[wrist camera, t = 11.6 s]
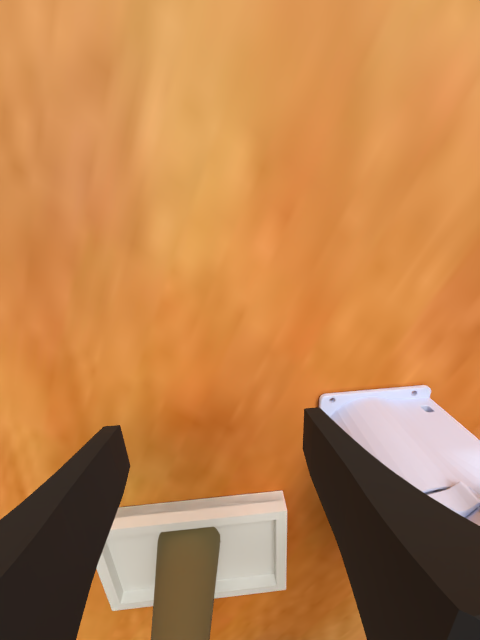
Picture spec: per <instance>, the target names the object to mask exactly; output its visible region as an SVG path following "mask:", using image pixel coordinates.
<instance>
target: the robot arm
mask: <svg viewBox="0 0 480 640" xmlns="http://www.w3.org/2000/svg"><path fill="white" fill-rule="evenodd" d="M413 391H414V392H413ZM412 392H413V393H412ZM430 394H431V389H430V388H429V387H428V386H426V385H419V386H407V387H396V388H384V389H373V390H361V391H350V392H338V393H326V394H323V395H321V396H320V398H319V408H308V409H304V432H303V451H304V455H305V459H306V462H307V466H308V469H309V473H310V476H311V478H312V481H313V483H314V486H315V488H316V491H317V493H318V496H319V498H320V501H321V503H322V506H323V508H324V511H325V513H326V516H327V518H328V521H329V523H330V526H331V528H332V531H333V533H334V536H335V538H336V541H337V544H338V546H339V549H340V552H341V555H342V558H343V561H344V564H345V568H346V571H347V574H348V577H349V580H350V584H351V587H352V590H353V593H354V597H355V600H356V603H357V607H358V610H359V613H360V617H361V620H362V623H363V627H364V630H365V634H366V637H367V640H480V440H479V439H477V438H476V437H475V436H474V435H473V434H472V433H470V432H469V431H468V430H467V429H466V428H465V427H463V426H462V425H461V424H460V423H459V422H458V421H456V420H455V419H454V418H453V417H452V416H450V415H449V414H448V413H447V412H446V411H445V410H443V409H442V408H441V407H440V406H439V405H438V404H436V403H435V402H434V401H433V400H432V399H430ZM331 398H333V400H330V399H331ZM129 468H130V463H129V459H128V455H127V451H126V447H125V443H124V439H123V435H122V431H121V427H120V425H117V426H106V427H103V428H102V429H101V430H100V431H99V432H98V433H97V434H95V435H94V436H93V437H92V438H91V439H90V440H89V441H88V442H87V443H86V444H85V445H84V446H83V447H82V448H81V449H80V450H79V451H78V452H77V453H76V454H75V455H74V456H73V457H72V458H71V459H70V460H69V461H67V462H66V463H65V464H64V465H63V466H62V467H61V468H60V469H59V470H58V471H57V472H56V473H55V474H54V475H52V476H51V477H50V478H49V479H48V480H47V481H46V482H45V483H43V484H42V485H41V486H40V487H39V488H38V489H37V490H36V491H34V492H33V493H32V494H31V495H30V496H29V497H28V498H27V499H25V500H24V501H23V502H22V503H21V504H19V505H18V506H17V507H16V508H15V509H13V510H12V511H11V512H10V513H8V514H7V515H6V516H5V517H3V518H2V519H1V520H0V640H76V638H77V634H78V630H79V626H80V622H81V619H82V615H83V612H84V608H85V604H86V601H87V597H88V594H89V590H90V587H91V583H92V580H93V577H94V574H95V571H96V568H97V565H98V562H99V559H100V557H101V554H102V551H103V548H104V546H105V543H106V540H107V538H108V535H109V532H110V529H111V527H112V524H113V521H114V519H115V516H116V513H117V510H118V507H119V505H120V502H121V499H122V496H123V493H124V489H125V485H126V481H127V477H128V473H129Z"/></svg>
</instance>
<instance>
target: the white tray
mask: <svg viewBox="0 0 480 640" xmlns="http://www.w3.org/2000/svg"><path fill="white" fill-rule="evenodd" d="M205 527H215V528H216V529H217V530H218V532H219V534H220V550H219V559H218V567H217V576H216V585H215V594H214V598H223V597H231V596H239V595H247V594H255V593H263V592H272V591H280V590H286V562H287V508H286V503H285V499H284V495H283V491H272V492H263V493H253V494H244V495H234V496H224V497H215V498H205V499H195V500H186V501H176V502H167V503H157V504H147V505H138V506H128V507H118V510H117V513H116V516H115V519H114V521H113V524H112V527H111V529H110V532H109V535H108V538H107V540H106V543H105V546H104V548H103V551H102V554H101V557H100V559H99V562H98V565H97V568H96V569H97V571H98V574H99V577H100V579H101V582H102V585H103V587H104V590H105V593H106V595H107V598H108V601H109V603H110V606H111V609H112V611H116V610H124V609H133V608H141V607H149V606H153V603H154V588H155V574H156V559H157V544H158V538H159V534H160V533H161V532H168V531H177V530H186V529H195V528H205Z"/></svg>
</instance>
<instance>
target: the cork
mask: <svg viewBox="0 0 480 640" xmlns="http://www.w3.org/2000/svg"><path fill="white" fill-rule="evenodd" d="M219 550H220V534H219V532H218V530H217V529H216V528H215V527H205V528H195V529H186V530H177V531H168V532H161V533H160V534H159V538H158V544H157V559H156V574H155V588H154V603H153V618H152V632H151V640H209V639H210V630H211V621H212V612H213V603H214V594H215V585H216V576H217V567H218V559H219Z"/></svg>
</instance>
